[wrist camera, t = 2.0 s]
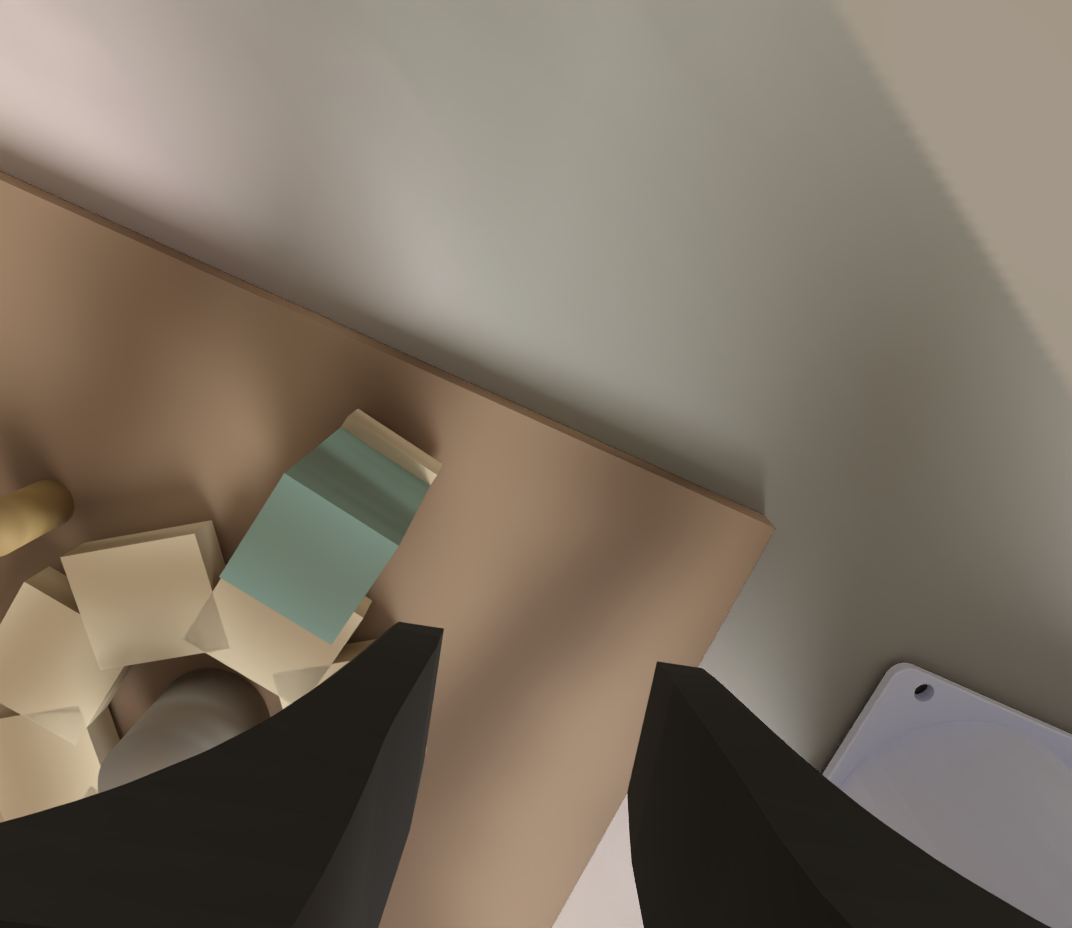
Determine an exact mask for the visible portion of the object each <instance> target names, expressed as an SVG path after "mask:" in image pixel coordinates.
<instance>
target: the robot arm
mask: <svg viewBox="0 0 1072 928" xmlns="http://www.w3.org/2000/svg"><path fill="white" fill-rule="evenodd" d="M443 632H444V628H437V627H431V626H424V625H418V624H411V623H405V622H398V623H396V624H395V625H393V626H392V627H390V628H389V629H388V630H386V631H385V632H384V633H383V634H382V635H381V636H380V637H378V638H377V639H376V640H375V641H374V642H373V643H371V644H370V645H369V646H368V647H367V648H366V649H364V650H363V651H362V652H361V653H359V654H358V655H357V656H356V657H355V658H353V659H352V660H351V661H350V662H348V663H347V664H346V665H344V666H343V667H342V668H340V669H339V670H338V671H337V672H335V673H334V674H333V675H331V676H330V677H329V678H327V679H326V680H325V681H323V682H322V683H321V684H319V685H318V686H317V687H315V688H314V689H312V690H311V691H310V692H308V693H307V694H305V695H303V696H302V697H300V698H299V699H297V700H296V701H294V702H293V703H291V704H290V705H288V706H287V707H285V708H284V709H282V710H281V711H279V712H278V713H276V714H275V715H273V716H271V717H270V718H268V719H266V720H265V721H263V722H261V723H259V724H257V725H256V726H254V727H252V728H250V729H248V730H247V731H245V732H243V733H241V734H239V735H237V736H235V737H233V738H231V739H229V740H227V741H225V742H223V743H221V744H219V745H217V746H215V747H213V748H211V749H209V750H207V751H204V752H202V753H200V754H198V755H195V756H193V757H190V758H188V759H186V760H183V761H181V762H178V763H176V764H173V765H171V766H168V767H166V768H164V769H161V770H159V771H156V772H154V773H151V774H149V775H146V776H144V777H142V778H139V779H137V780H134V781H132V782H129V783H127V784H124V785H121V786H118V787H116V788H113V789H110V790H107V791H104V792H101V793H98V794H95V795H92V796H89V797H86V798H83V799H80V800H77V801H74V802H70V803H67V804H63V805H60V806H57V807H53V808H50V809H47V810H43V811H40V812H37V813H33V814H30V815H27V816H23V817H19V818H15V819H12V820H8V821H4V822H0V928H378V927H379V924H380V921H381V918H382V915H383V912H384V909H385V906H386V903H387V899H388V896H389V893H390V890H391V887H392V884H393V881H394V878H395V875H396V872H397V869H398V866H399V862H400V859H401V856H402V853H403V850H404V847H405V844H406V841H407V838H408V834H409V831H410V827H411V823H412V818H413V813H414V808H415V803H416V799H417V794H418V789H419V784H420V779H421V774H422V769H423V764H424V759H425V752H426V745H427V739H428V732H429V725H430V719H431V712H432V705H433V699H434V692H435V685H436V679H437V672H438V665H439V659H440V652H441V645H442V639H443ZM923 684H928V685H927V688H926V690H925V691H924V692H922V693H919V694H914V693H915V689H916V688H917V687H918V686H920V685H923ZM627 793H628V812H629V831H630V845H631V859H632V866H633V872H634V877H635V883H636V888H637V893H638V899H639V904H640V909H641V914H642V920H643V925H644V928H1072V734H1070V733H1068V732H1065V731H1063V730H1061V729H1059V728H1056V727H1054V726H1052V725H1050V724H1047V723H1045V722H1043V721H1040V720H1038V719H1036V718H1034V717H1031V716H1029V715H1027V714H1025V713H1022V712H1020V711H1018V710H1015V709H1013V708H1011V707H1009V706H1006V705H1004V704H1002V703H1000V702H997V701H995V700H993V699H990V698H988V697H986V696H984V695H981V694H979V693H977V692H974V691H972V690H970V689H968V688H965V687H963V686H961V685H959V684H956V683H954V682H952V681H949V680H947V679H945V678H943V677H940V676H938V675H936V674H934V673H931V672H929V671H927V670H924V669H922V668H920V667H918V666H915V665H913V664H910V663H898V664H896V665H894V666H892V667H891V668H890V669H889V670H888V671H887V672H886V674H885V675H884V677H883V678H882V680H881V682H880V683H879V685H878V686H877V688H876V690H875V691H874V693H873V694H872V696H871V698H870V699H869V701H868V702H867V704H866V706H865V707H864V709H863V710H862V712H861V713H860V715H859V717H858V718H857V720H856V721H855V723H854V725H853V726H852V728H851V729H850V731H849V733H848V734H847V736H846V737H845V739H844V740H843V742H842V744H841V745H840V747H839V748H838V750H837V752H836V753H835V755H834V756H833V758H832V760H831V761H830V763H829V764H828V766H827V768H826V769H825V771H824V772H823V774H821V773H819V772H818V771H817V770H816V769H815V768H814V767H812V766H811V765H810V764H809V763H808V762H807V761H805V760H804V759H803V758H802V757H801V756H800V755H798V754H797V753H796V752H795V751H794V750H793V749H792V748H791V747H789V746H788V745H787V744H786V743H785V742H784V741H783V740H782V739H781V738H779V737H778V736H777V735H776V734H775V733H774V732H773V731H772V730H771V729H770V728H768V727H767V726H766V725H765V724H764V723H763V722H762V721H761V720H760V719H759V718H758V717H757V716H755V715H754V714H753V713H752V712H751V711H750V710H749V709H748V708H747V707H746V706H745V705H744V704H743V703H742V702H740V701H739V700H738V699H737V698H736V697H735V696H734V695H733V694H732V693H731V692H730V691H729V690H727V689H726V688H725V687H724V686H723V685H722V684H721V683H720V682H718V681H717V680H716V679H715V678H714V677H713V676H711V675H710V674H709V673H708V672H706V671H705V670H704V669H702V668H698V667H691V666H685V665H678V664H672V663H665V662H659V661H657V663H656V668H655V672H654V677H653V681H652V685H651V690H650V694H649V699H648V703H647V707H646V712H645V716H644V721H643V725H642V729H641V734H640V738H639V743H638V747H637V751H636V756H635V760H634V765H633V769H632V773H631V778H630V782H629V787H628V791H627Z"/></svg>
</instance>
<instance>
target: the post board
mask: <svg viewBox="0 0 1072 928" xmlns="http://www.w3.org/2000/svg"><path fill="white" fill-rule="evenodd" d="M356 409H359V410H361V411H362V412H364V413H366V414H367V415H369V416H370V417H372V418H373V419H375V420H376V421H378V422H379V423H381V424H382V425H384V426H385V427H387V428H388V429H390V430H391V431H393V432H394V433H396V434H398V435H399V436H401V437H402V438H404V439H405V440H407V441H408V442H410V443H411V444H413V445H414V446H416V447H417V448H419V449H420V450H422V451H423V452H425V453H426V454H428V455H430V456H431V457H433V458H434V459H436V460H437V461H439V462H440V463H442V464H443V465H442V467H441V469H440V471H439V473H438V475H437V476H436V478H435V479H434V481H433V482H432V484H431V485H430V487H429V489H428V491H427V493H426V495H425V497H424V498H423V500H422V502H421V504H420V506H419V508H418V510H417V512H416V514H415V516H414V518H413V520H412V522H411V524H410V526H409V528H408V529H407V531H406V533H405V535H404V537H403V539H402V541H401V543H400V545H399V547H398V548H397V550H396V551H395V553H394V554H393V555H392V557H391V558H390V560H389V561H388V563H387V564H386V566H385V567H384V569H383V570H382V572H381V573H380V574H379V576H378V577H377V579H376V580H375V582H374V583H373V585H372V586H371V588H370V589H369V591H368V592H367V594H366V595H365V596H366V597H367V598H369V599H371V600H372V602H371V604H370V606H369V608H368V610H367V612H366V614H365V616H364V618H363V619H362V621H361V622H360V624H359V625H358V627H357V628H356V629H355V631H354V632H353V634H352V635H351V637H350V638H349V640H348V641H347V643H346V644H350V643H356V642H362V641H368V640H374V639H377V638H378V637H380V636H381V635H382V634H383V633H384V632H385V631H386V630H388V629H389V628H390V627H392V626H393V625H395V624H396V623H398V622H405V623H411V624H418V625H424V626H431V627H437V628H444V632H443V639H442V645H441V652H440V659H439V665H438V672H437V679H436V685H435V692H434V699H433V705H432V712H431V719H430V725H429V732H428V739H427V745H426V747H427V749H426V753H425V759H424V764H423V769H422V774H421V779H420V784H419V789H418V794H417V799H416V803H415V808H414V813H413V818H412V823H411V827H410V831H409V834H408V838H407V841H406V844H405V847H404V850H403V853H402V856H401V859H400V862H399V866H398V869H397V872H396V875H395V878H394V881H393V884H392V887H391V890H390V893H389V896H388V899H387V903H386V906H385V909H384V912H383V915H382V918H381V921H380V924H379V927H378V928H552V926H553V924H554V923H555V921H556V919H557V917H558V916H559V914H560V912H561V910H562V908H563V907H564V905H565V903H566V901H567V899H568V898H569V896H570V894H571V892H572V891H573V889H574V887H575V885H576V883H577V882H578V880H579V878H580V876H581V875H582V873H583V871H584V869H585V867H586V866H587V864H588V862H589V860H590V858H591V857H592V855H593V853H594V851H595V850H596V848H597V846H598V844H599V842H600V841H601V839H602V837H603V835H604V834H605V832H606V830H607V828H608V826H609V825H610V823H611V821H612V819H613V817H614V816H615V814H616V812H617V810H618V809H619V807H620V805H621V803H622V801H623V800H624V798H625V796H626V794H627V791H628V787H629V782H630V778H631V773H632V769H633V765H634V760H635V756H636V751H637V747H638V743H639V738H640V734H641V729H642V725H643V721H644V716H645V712H646V707H647V703H648V699H649V694H650V690H651V685H652V681H653V677H654V672H655V668H656V663H657V661H659V662H665V663H672V664H678V665H685V666H691V667H698V666H699V664H700V662H701V661H702V659H703V657H704V655H705V654H706V652H707V650H708V648H709V646H710V645H711V643H712V641H713V639H714V637H715V636H716V634H717V632H718V630H719V629H720V627H721V625H722V623H723V621H724V620H725V618H726V616H727V614H728V613H729V611H730V609H731V607H732V605H733V604H734V602H735V600H736V598H737V596H738V595H739V593H740V591H741V589H742V588H743V586H744V584H745V582H746V580H747V579H748V577H749V575H750V573H751V572H752V570H753V568H754V566H755V564H756V563H757V561H758V559H759V557H760V556H761V554H762V552H763V550H764V548H765V547H766V545H767V543H768V541H769V539H770V538H771V536H772V534H773V532H774V531H775V529H776V528H775V527H774V526H773V525H772V523H771V522H770V521H769V520H768V519H767V518H766V516H764V515H762V514H760V513H758V512H755V511H753V510H751V509H749V508H747V507H744V506H742V505H740V504H738V503H735V502H733V501H731V500H729V499H727V498H724V497H722V496H720V495H718V494H715V493H713V492H711V491H709V490H707V489H704V488H702V487H700V486H698V485H695V484H693V483H691V482H689V481H687V480H684V479H682V478H680V477H678V476H675V475H673V474H671V473H669V472H667V471H664V470H662V469H660V468H658V467H655V466H653V465H651V464H649V463H647V462H644V461H642V460H640V459H638V458H636V457H633V456H631V455H629V454H627V453H624V452H622V451H620V450H618V449H616V448H613V447H611V446H609V445H607V444H604V443H602V442H600V441H598V440H596V439H593V438H591V437H589V436H587V435H584V434H582V433H580V432H578V431H576V430H573V429H571V428H569V427H567V426H564V425H562V424H560V423H558V422H556V421H553V420H551V419H549V418H547V417H544V416H542V415H540V414H538V413H536V412H533V411H531V410H529V409H527V408H525V407H522V406H520V405H518V404H516V403H513V402H511V401H509V400H507V399H505V398H502V397H500V396H498V395H496V394H493V393H491V392H489V391H487V390H485V389H482V388H480V387H478V386H476V385H473V384H471V383H469V382H467V381H465V380H462V379H460V378H458V377H456V376H453V375H451V374H449V373H447V372H445V371H442V370H440V369H438V368H436V367H434V366H431V365H429V364H427V363H425V362H422V361H420V360H418V359H416V358H414V357H411V356H409V355H407V354H405V353H402V352H400V351H398V350H396V349H394V348H391V347H389V346H387V345H385V344H382V343H380V342H378V341H376V340H374V339H371V338H369V337H367V336H365V335H362V334H360V333H358V332H356V331H354V330H351V329H349V328H347V327H345V326H342V325H340V324H338V323H336V322H334V321H331V320H329V319H327V318H325V317H323V316H320V315H318V314H316V313H314V312H311V311H309V310H307V309H305V308H303V307H300V306H298V305H296V304H294V303H291V302H289V301H287V300H285V299H283V298H280V297H278V296H276V295H274V294H271V293H269V292H267V291H265V290H263V289H260V288H258V287H256V286H254V285H251V284H249V283H247V282H245V281H243V280H240V279H238V278H236V277H234V276H231V275H229V274H227V273H225V272H223V271H220V270H218V269H216V268H214V267H212V266H209V265H207V264H205V263H203V262H200V261H198V260H196V259H194V258H192V257H189V256H187V255H185V254H183V253H180V252H178V251H176V250H174V249H172V248H169V247H167V246H165V245H163V244H160V243H158V242H156V241H154V240H152V239H149V238H147V237H145V236H143V235H140V234H138V233H136V232H134V231H132V230H129V229H127V228H125V227H123V226H121V225H118V224H116V223H114V222H112V221H109V220H107V219H105V218H103V217H101V216H98V215H96V214H94V213H92V212H89V211H87V210H85V209H83V208H81V207H78V206H76V205H74V204H72V203H69V202H67V201H65V200H63V199H61V198H58V197H56V196H54V195H52V194H49V193H47V192H45V191H43V190H41V189H38V188H36V187H34V186H32V185H29V184H27V183H25V182H23V181H21V180H18V179H16V178H14V177H12V176H10V175H7V174H5V173H3V172H1V171H0V624H1V622H2V620H3V619H4V617H5V615H6V613H7V611H8V610H9V608H10V606H11V604H12V602H13V601H14V599H15V597H16V595H17V594H18V592H19V590H20V588H21V586H22V585H23V583H24V581H26V580H28V579H29V578H31V577H33V576H34V575H36V574H37V573H39V572H41V571H42V570H44V569H46V568H47V567H49V566H50V567H52V568H54V569H55V570H57V571H59V572H60V573H62V574H64V575H65V576H67V575H66V573H65V570H64V567H63V564H62V561H61V558H60V557H61V556H63V555H65V554H66V553H68V552H70V551H71V550H73V549H74V548H76V547H78V546H79V545H81V544H83V543H85V542H91V541H97V540H102V539H108V538H113V537H119V536H125V535H130V534H136V533H142V532H147V531H153V530H159V529H164V528H170V527H176V526H181V525H187V524H193V523H198V522H204V521H209V520H212V522H213V525H214V529H215V532H216V535H217V539H218V542H219V545H220V549H221V552H222V555H223V559H224V562H225V565H227V564H228V562H229V560H230V559H231V557H232V556H233V554H234V552H235V551H236V549H237V548H238V546H239V544H240V543H241V541H242V540H243V538H244V536H245V535H246V533H247V532H248V530H249V529H250V527H251V525H252V524H253V522H254V521H255V519H256V517H257V516H258V514H259V513H260V511H261V509H262V508H263V506H264V505H265V503H266V501H267V500H268V498H269V497H270V495H271V493H272V492H273V490H274V489H275V487H276V486H277V484H278V482H279V481H280V479H281V478H282V476H283V474H284V473H285V472H286V471H288V470H289V469H290V468H291V467H292V466H294V465H295V464H296V463H297V462H299V461H300V460H301V459H302V458H304V457H305V456H306V455H307V454H308V453H310V452H311V451H312V450H313V449H315V448H316V447H317V446H318V445H320V444H321V443H322V442H323V441H324V440H326V439H327V438H328V437H329V436H331V435H332V434H333V433H334V432H335V431H337V430H338V429H339V428H340V427H341V426H342V424H343V423H344V421H345V420H346V418H347V417H348V416H349V415H350V414H351V413H353V412H354V411H355V410H356ZM108 708H109V711H110V714H111V717H112V719H113V722H114V725H115V728H116V731H117V733H118V736H119V739H120V741H119V742H118V744H117V745H116V746H115V747H114V748H113V749H112V750H111V751H110V753H109V754H108V755H107V756H106V758H105V759H104V761H103V763H102V765H101V767H100V770H99V774H98V793H101V792H104V791H107V790H110V789H113V788H116V787H118V786H121V785H124V784H127V783H129V782H132V781H134V780H137V779H139V778H142V777H144V776H146V775H149V774H151V773H154V772H156V771H159V770H161V769H164V768H166V767H168V766H171V765H173V764H176V763H178V762H181V761H183V760H186V759H188V758H190V757H193V756H195V755H198V754H200V753H202V752H204V751H207V750H209V749H211V748H213V747H215V746H217V745H219V744H221V743H223V742H225V741H227V740H229V739H231V738H233V737H235V736H237V735H239V734H241V733H243V732H245V731H247V730H248V729H250V728H252V727H254V726H256V725H257V724H259V723H261V722H263V721H265V720H266V719H268V718H270V717H271V716H273V715H275V714H276V713H278V712H279V711H281V710H282V709H283V708H282V705H281V702H280V698H279V696H278V695H276V694H274V693H273V692H271V691H269V690H267V689H266V688H264V687H262V686H261V685H259V684H257V683H256V682H254V681H252V680H251V679H249V678H247V677H246V676H244V675H242V674H240V673H239V672H237V671H235V670H234V669H232V668H230V667H229V666H227V665H225V664H224V663H222V662H220V661H218V660H217V659H215V658H213V657H212V656H210V655H208V654H207V653H200V654H194V655H188V656H182V657H176V658H170V659H164V660H158V661H152V662H146V663H140V664H134V665H133V666H132V668H131V669H130V671H129V672H128V674H127V676H126V677H125V679H124V681H123V682H122V684H121V685H120V687H119V689H118V690H117V692H116V694H115V695H114V697H113V698H112V700H111V702H110V703H109V705H108ZM0 822H4V819H3V817H2V814H1V812H0Z"/></svg>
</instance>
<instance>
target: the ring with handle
mask: <svg viewBox="0 0 1072 928" xmlns="http://www.w3.org/2000/svg"><path fill="white" fill-rule="evenodd" d="M442 465H443V464H442V463H440V462H439V461H437V460H436V459H434V458H433V457H431V456H430V455H428V454H426V453H425V452H423V451H422V450H420V449H419V448H417V447H416V446H414V445H413V444H411V443H410V442H408V441H407V440H405V439H404V438H402V437H401V436H399V435H398V434H396V433H394V432H393V431H391V430H390V429H388V428H387V427H385V426H384V425H382V424H381V423H379V422H378V421H376V420H375V419H373V418H372V417H370V416H369V415H367V414H366V413H364V412H362V411H361V410H359V409H356V410H355V411H354V412H353V413H351V414H350V415H349V416H348V417H347V418H346V420H345V421H344V423H343V424H342V426H341V427H340V428H339V429H338V430H337V431H335V432H334V433H333V434H332V435H331V436H329V437H328V438H327V439H326V440H324V441H323V442H322V443H321V444H320V445H318V446H317V447H316V448H315V449H313V450H312V451H311V452H310V453H308V454H307V455H306V456H305V457H304V458H302V459H301V460H300V461H299V462H297V463H296V464H295V465H294V466H292V467H291V468H290V469H289V470H288V471H286V472H285V473H284V474H283V476H282V478H281V479H280V481H279V482H278V484H277V486H276V487H275V489H274V490H273V492H272V493H271V495H270V497H269V498H268V500H267V501H266V503H265V505H264V506H263V508H262V509H261V511H260V513H259V514H258V516H257V517H256V519H255V521H254V522H253V524H252V525H251V527H250V529H249V530H248V532H247V533H246V535H245V536H244V538H243V540H242V541H241V543H240V544H239V546H238V548H237V549H236V551H235V552H234V554H233V556H232V557H231V559H230V560H229V562H228V564H227V565H225V562H224V559H223V555H222V552H221V549H220V545H219V542H218V539H217V535H216V532H215V529H214V525H213V522H212V520H209V521H204V522H198V523H193V524H187V525H181V526H176V527H170V528H164V529H159V530H153V531H147V532H142V533H136V534H130V535H125V536H119V537H113V538H108V539H102V540H97V541H91V542H85V543H83V544H81V545H79V546H78V547H76V548H74V549H73V550H71V551H70V552H68V553H66V554H65V555H63V556H61V557H60V558H61V561H62V564H63V567H64V570H65V573H66V575H67V576H65V575H64V574H62V573H60V572H59V571H57V570H55V569H54V568H52V567H50V566H49V567H47V568H46V569H44V570H42V571H41V572H39V573H37V574H36V575H34V576H33V577H31V578H29V579H28V580H26V581H24V583H23V585H22V586H21V588H20V590H19V592H18V594H17V595H16V597H15V599H14V601H13V602H12V604H11V606H10V608H9V610H8V611H7V613H6V615H5V617H4V619H3V620H2V622H1V624H0V812H1V814H2V817H3V819H4V821H8V820H12V819H15V818H19V817H23V816H27V815H30V814H33V813H37V812H40V811H43V810H47V809H50V808H53V807H57V806H60V805H63V804H67V803H70V802H74V801H77V800H80V799H83V798H86V797H89V796H92V795H95V794H98V774H99V770H100V767H101V765H102V763H103V761H104V759H105V758H106V756H107V755H108V754H109V753H110V751H111V750H112V749H113V748H114V747H115V746H116V745H117V744H118V742H119V741H120V739H119V736H118V733H117V731H116V728H115V725H114V722H113V719H112V717H111V714H110V711H109V708H108V705H109V703H110V702H111V700H112V698H113V697H114V695H115V694H116V692H117V690H118V689H119V687H120V685H121V684H122V682H123V681H124V679H125V677H126V676H127V674H128V672H129V671H130V669H131V668H132V666H133V665H134V664H140V663H146V662H152V661H158V660H164V659H170V658H176V657H182V656H188V655H194V654H200V653H207V654H208V655H210V656H212V657H213V658H215V659H217V660H218V661H220V662H222V663H224V664H225V665H227V666H229V667H230V668H232V669H234V670H235V671H237V672H239V673H240V674H242V675H244V676H246V677H247V678H249V679H251V680H252V681H254V682H256V683H257V684H259V685H261V686H262V687H264V688H266V689H267V690H269V691H271V692H273V693H274V694H276V695H278V696H279V698H280V702H281V705H282V708H283V709H284V708H285V707H287V706H288V705H290V704H291V703H293V702H294V701H296V700H297V699H299V698H300V697H302V696H303V695H305V694H307V693H308V692H310V691H311V690H312V689H314V688H315V687H317V686H318V685H319V684H321V683H322V682H323V681H325V680H326V679H327V678H329V677H330V676H331V675H333V674H334V673H335V672H337V671H338V670H339V669H340V668H342V667H343V666H344V665H346V664H347V663H348V662H350V661H351V660H352V659H353V658H355V657H356V656H357V655H358V654H359V653H361V652H362V651H363V650H364V649H366V648H367V647H368V646H369V645H370V644H371V643H373V642H374V641H375V640H376V639H374V640H368V641H362V642H356V643H350V644H346V643H347V641H348V640H349V638H350V637H351V635H352V634H353V632H354V631H355V629H356V628H357V627H358V625H359V624H360V622H361V621H362V619H363V618H364V616H365V614H366V612H367V610H368V608H369V606H370V604H371V602H372V600H371V599H369V598H367V597H366V596H365V595H366V594H367V592H368V591H369V589H370V588H371V586H372V585H373V583H374V582H375V580H376V579H377V577H378V576H379V574H380V573H381V572H382V570H383V569H384V567H385V566H386V564H387V563H388V561H389V560H390V558H391V557H392V555H393V554H394V553H395V551H396V550H397V548H398V547H399V545H400V543H401V541H402V539H403V537H404V535H405V533H406V531H407V529H408V528H409V526H410V524H411V522H412V520H413V518H414V516H415V514H416V512H417V510H418V508H419V506H420V504H421V502H422V500H423V498H424V497H425V495H426V493H427V491H428V489H429V487H430V485H431V484H432V482H433V481H434V479H435V478H436V476H437V475H438V473H439V471H440V469H441V467H442ZM426 749H427V747H426ZM425 753H426V752H425Z"/></svg>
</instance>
